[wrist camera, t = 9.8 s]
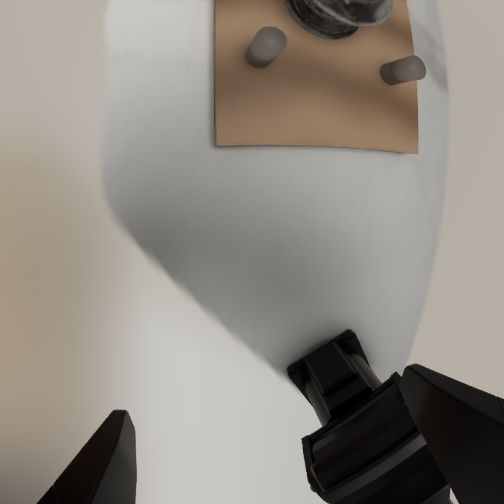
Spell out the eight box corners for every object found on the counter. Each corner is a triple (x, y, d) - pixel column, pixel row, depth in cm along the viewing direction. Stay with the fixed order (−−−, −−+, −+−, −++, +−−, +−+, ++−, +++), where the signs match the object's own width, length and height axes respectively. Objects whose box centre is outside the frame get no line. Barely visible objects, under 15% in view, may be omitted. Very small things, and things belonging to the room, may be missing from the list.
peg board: (405, 152, 20) (445, 157, 16) (215, 146, 18) (221, 144, 14) (382, -54, 14) (409, -74, 10) (218, -86, 11) (225, -119, 7)
